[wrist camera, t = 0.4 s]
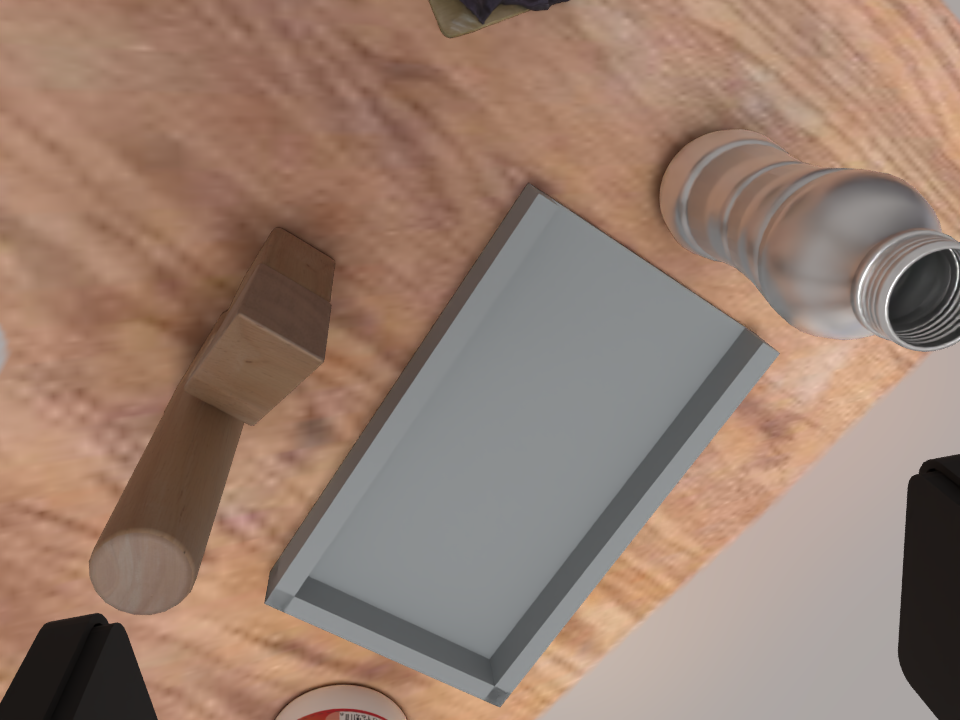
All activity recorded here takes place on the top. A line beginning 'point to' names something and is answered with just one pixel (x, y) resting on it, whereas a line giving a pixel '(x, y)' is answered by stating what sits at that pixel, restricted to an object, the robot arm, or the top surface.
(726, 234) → the plastic bottle
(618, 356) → the tray
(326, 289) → the toy block structure
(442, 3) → the bread roll
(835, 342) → the top surface
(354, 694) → the fruit juice
